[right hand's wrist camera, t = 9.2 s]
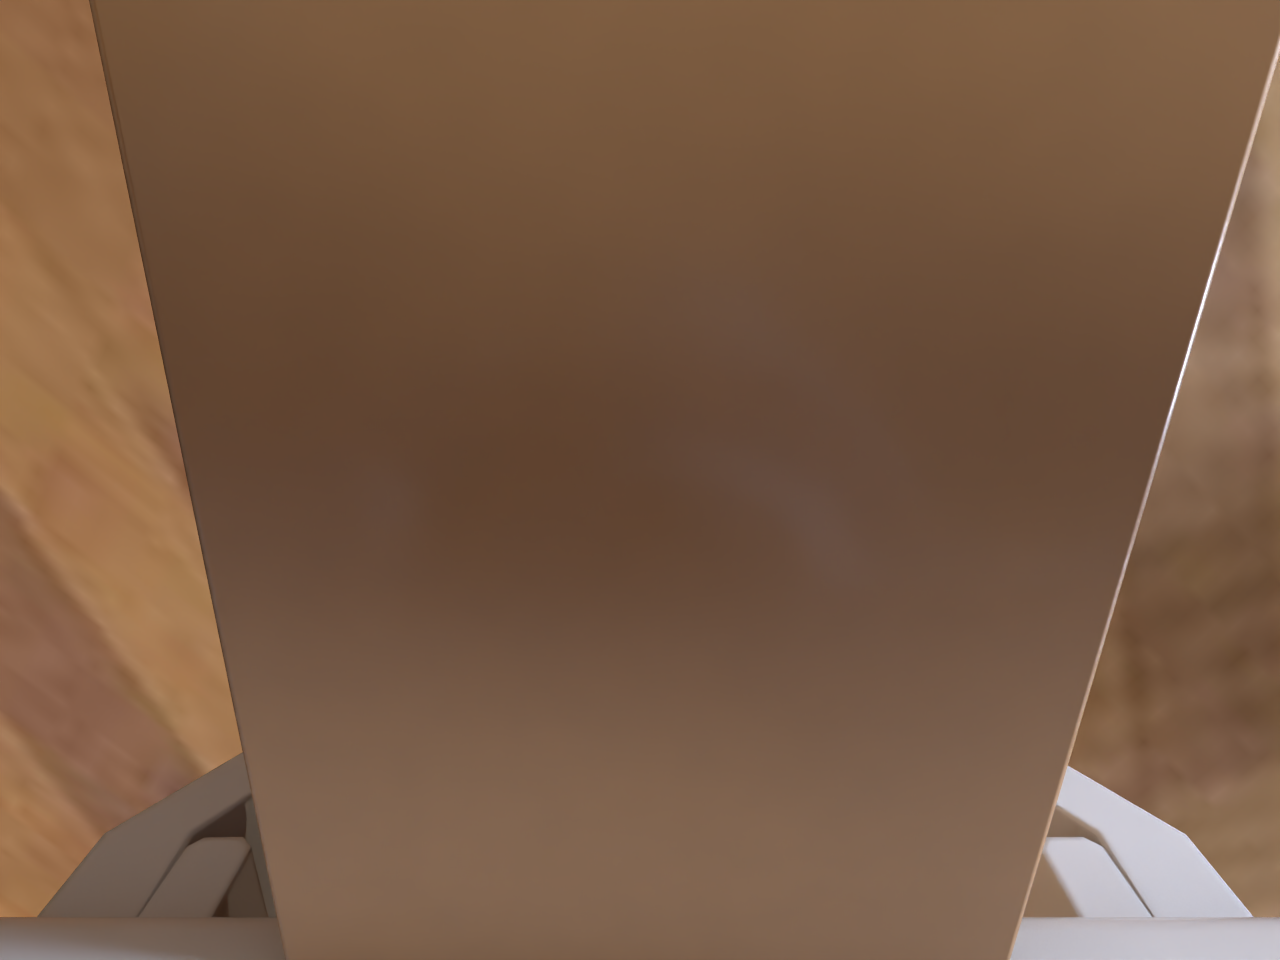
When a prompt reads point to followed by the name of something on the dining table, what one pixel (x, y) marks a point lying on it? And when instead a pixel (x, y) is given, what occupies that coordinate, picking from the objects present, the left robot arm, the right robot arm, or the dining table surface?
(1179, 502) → the dining table surface
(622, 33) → the post
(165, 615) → the dining table surface
